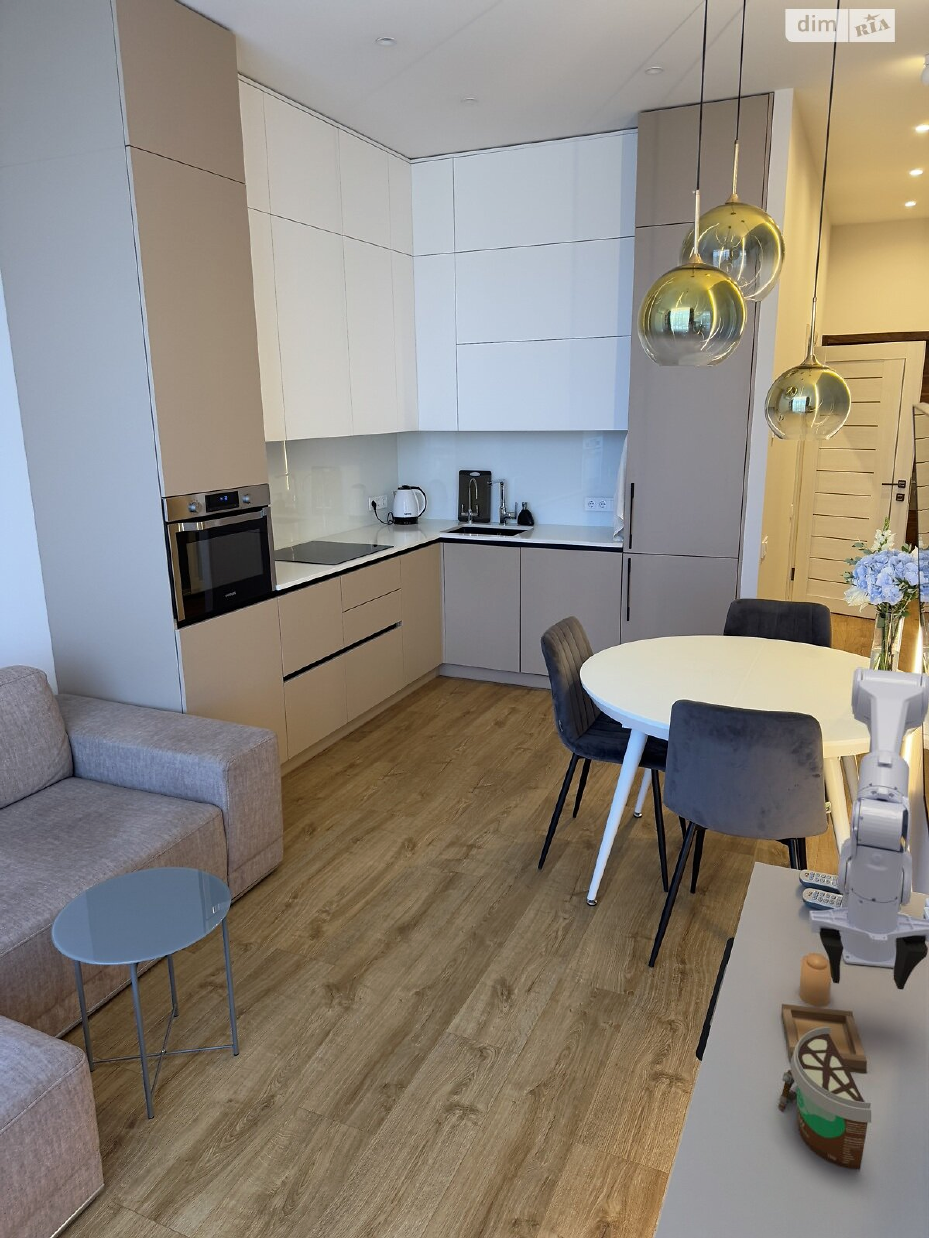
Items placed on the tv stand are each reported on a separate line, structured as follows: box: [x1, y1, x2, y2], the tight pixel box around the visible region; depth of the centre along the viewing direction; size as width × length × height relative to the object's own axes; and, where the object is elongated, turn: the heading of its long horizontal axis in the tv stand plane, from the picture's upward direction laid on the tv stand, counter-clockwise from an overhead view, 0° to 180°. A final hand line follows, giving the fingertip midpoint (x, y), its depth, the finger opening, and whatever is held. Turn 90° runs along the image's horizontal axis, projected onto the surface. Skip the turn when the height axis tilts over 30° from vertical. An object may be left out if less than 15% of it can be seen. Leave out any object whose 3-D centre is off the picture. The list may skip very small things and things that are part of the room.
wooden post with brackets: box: [778, 1069, 797, 1110], centre depth 104 cm, size 2×8×4 cm, turn 132°
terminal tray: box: [781, 1003, 868, 1074], centre depth 112 cm, size 9×9×2 cm
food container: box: [789, 1027, 872, 1170], centre depth 97 cm, size 12×6×10 cm, turn 178°
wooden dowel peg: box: [798, 952, 832, 1008], centre depth 120 cm, size 4×4×6 cm
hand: (866, 981), depth 110 cm, fingers open, 7 cm apart
